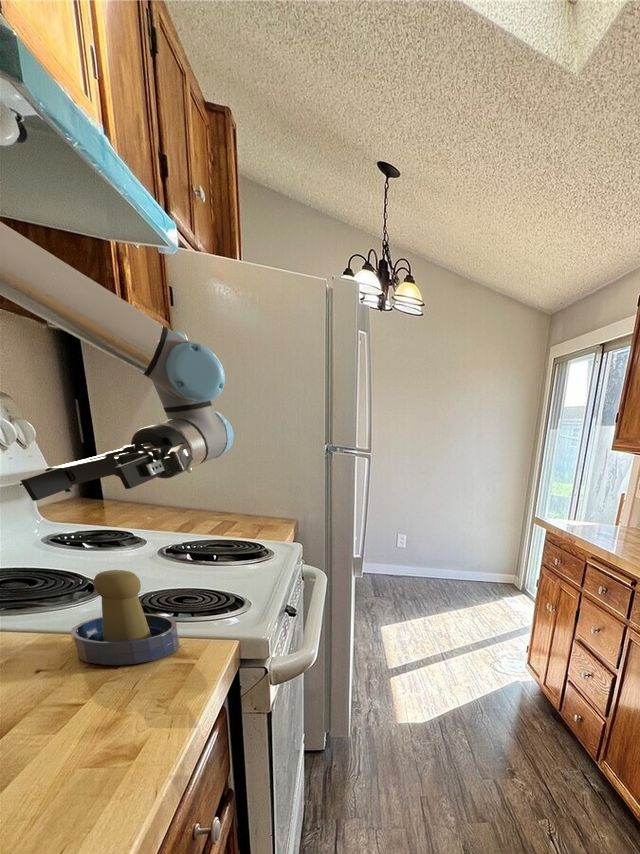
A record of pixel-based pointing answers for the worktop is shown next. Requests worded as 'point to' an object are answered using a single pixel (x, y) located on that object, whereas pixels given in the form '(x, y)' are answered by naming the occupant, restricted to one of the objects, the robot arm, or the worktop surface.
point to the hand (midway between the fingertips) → (75, 484)
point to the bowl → (125, 642)
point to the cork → (121, 606)
